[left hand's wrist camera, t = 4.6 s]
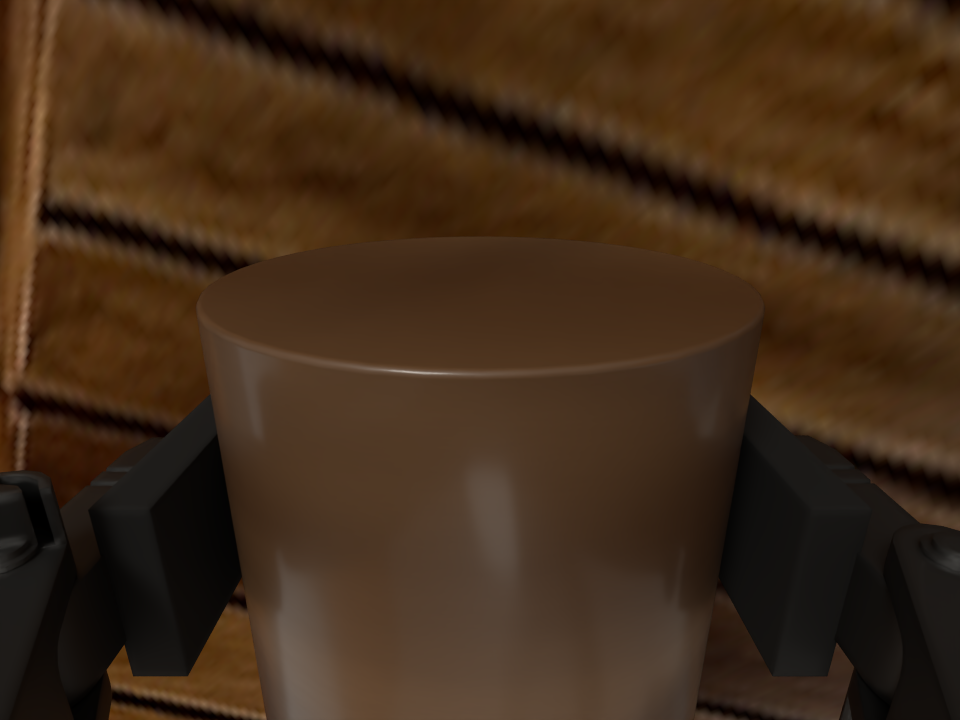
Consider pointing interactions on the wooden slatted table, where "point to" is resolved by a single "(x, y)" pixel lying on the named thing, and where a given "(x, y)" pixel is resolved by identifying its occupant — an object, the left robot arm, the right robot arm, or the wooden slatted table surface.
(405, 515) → the brown wooden cylinder
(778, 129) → the wooden slatted table surface
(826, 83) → the wooden slatted table surface
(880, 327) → the wooden slatted table surface
